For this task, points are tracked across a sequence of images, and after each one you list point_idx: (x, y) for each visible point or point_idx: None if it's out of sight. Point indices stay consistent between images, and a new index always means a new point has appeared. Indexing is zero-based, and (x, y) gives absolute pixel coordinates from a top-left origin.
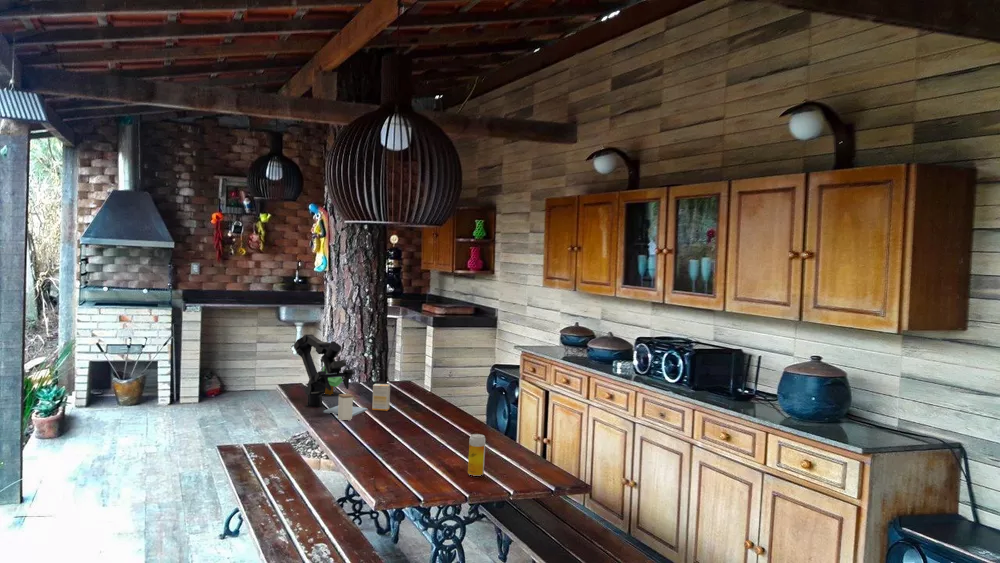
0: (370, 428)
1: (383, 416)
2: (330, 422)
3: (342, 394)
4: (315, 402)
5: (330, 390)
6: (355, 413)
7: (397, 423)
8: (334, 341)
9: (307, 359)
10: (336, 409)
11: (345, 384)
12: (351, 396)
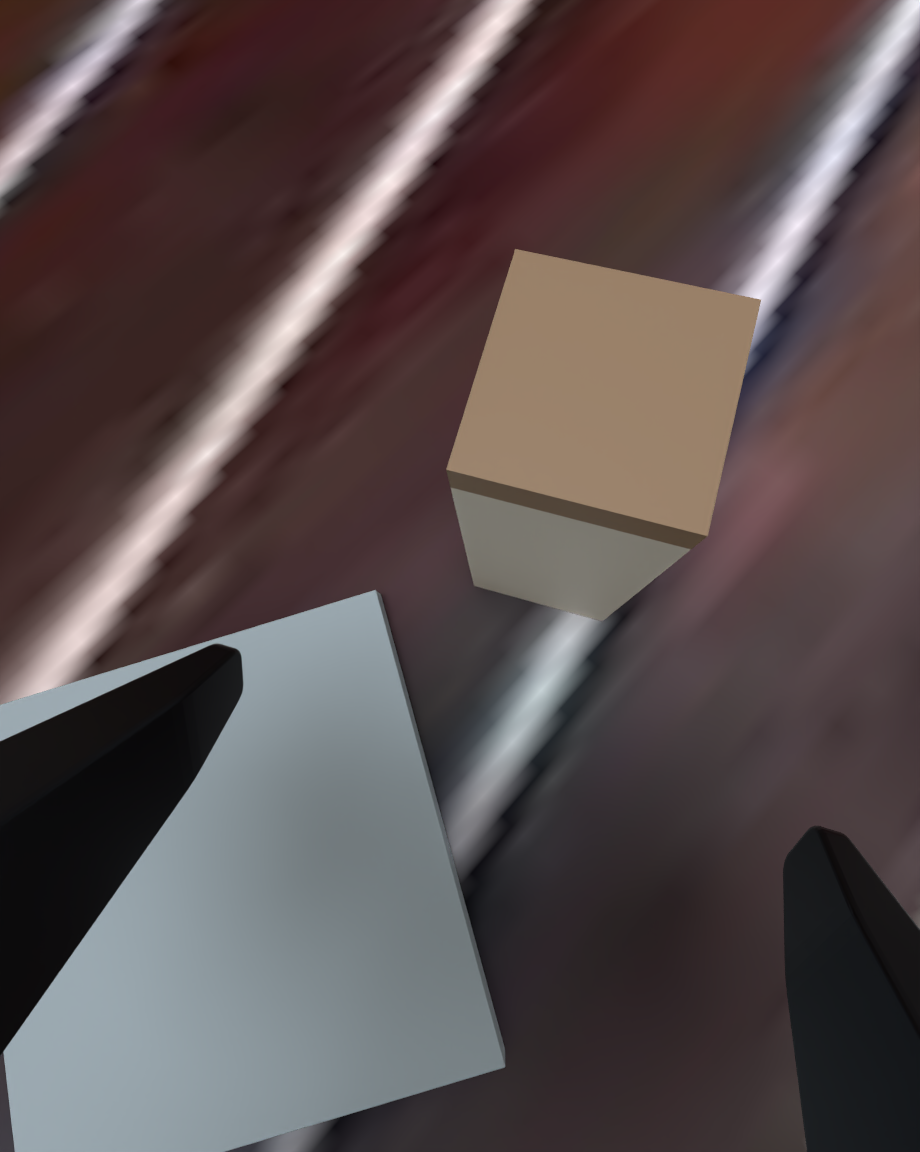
0: (623, 95)
1: (128, 362)
2: (796, 541)
3: (646, 460)
4: None
5: (812, 848)
6: (290, 616)
7: (276, 82)
8: None
9: None
10: (306, 980)
11: (103, 854)
12: (552, 271)
